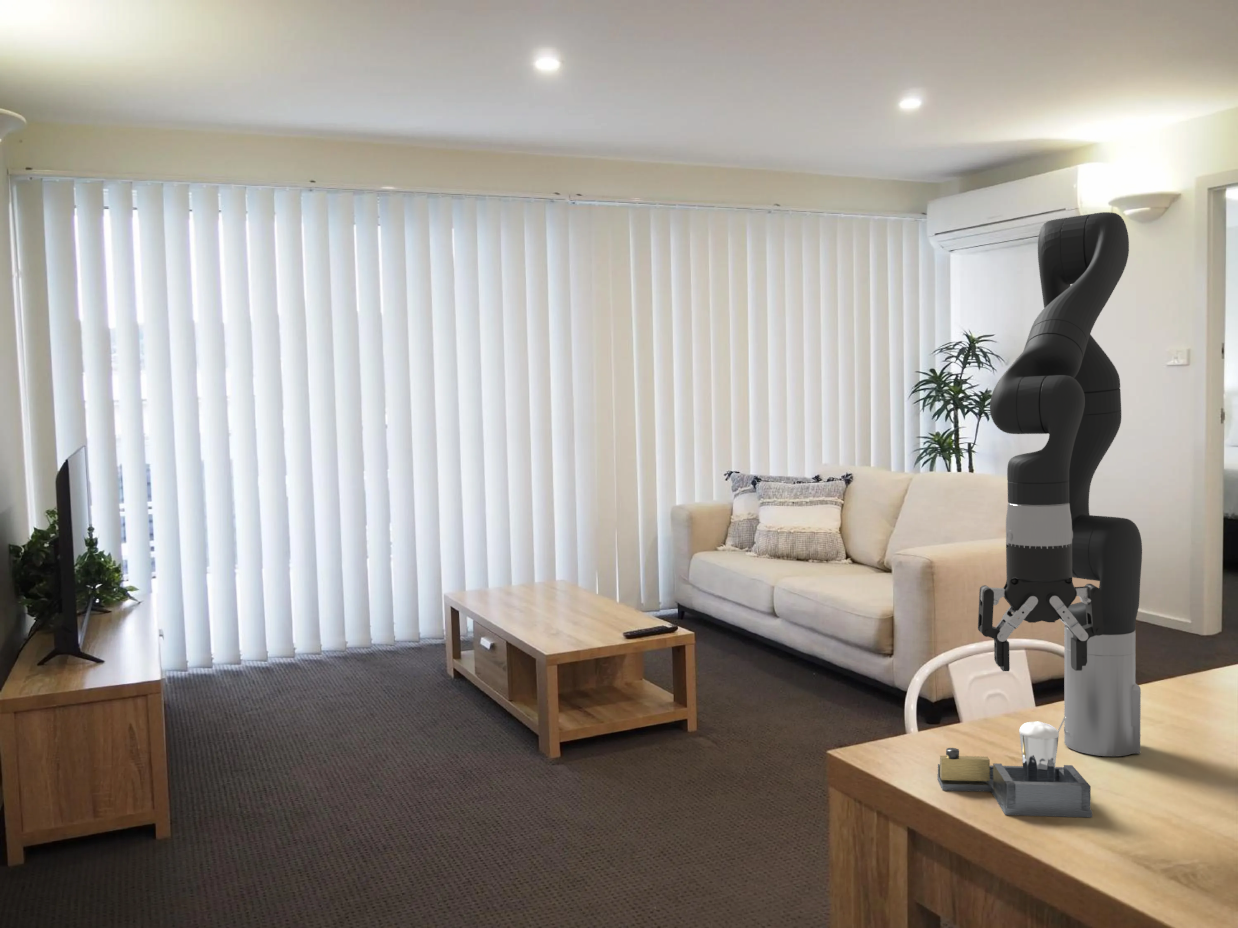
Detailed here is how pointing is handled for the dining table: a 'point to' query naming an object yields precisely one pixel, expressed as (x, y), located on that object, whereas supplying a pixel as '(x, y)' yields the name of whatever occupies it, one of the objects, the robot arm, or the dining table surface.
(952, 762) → the bar
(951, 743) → the dining table surface
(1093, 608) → the robot arm
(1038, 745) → the milkshake
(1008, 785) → the dock
